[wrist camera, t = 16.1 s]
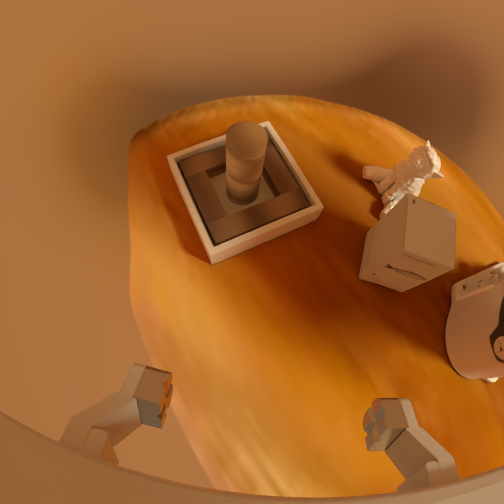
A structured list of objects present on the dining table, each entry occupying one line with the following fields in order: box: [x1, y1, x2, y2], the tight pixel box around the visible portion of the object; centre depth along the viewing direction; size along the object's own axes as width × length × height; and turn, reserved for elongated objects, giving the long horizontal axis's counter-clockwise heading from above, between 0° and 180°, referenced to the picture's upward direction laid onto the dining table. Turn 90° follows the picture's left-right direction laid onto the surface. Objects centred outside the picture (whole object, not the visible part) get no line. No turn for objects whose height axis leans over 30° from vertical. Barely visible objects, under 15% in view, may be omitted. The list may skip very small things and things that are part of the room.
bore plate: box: [179, 139, 309, 246], centre depth 42 cm, size 13×13×2 cm
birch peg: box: [226, 121, 268, 205], centre depth 37 cm, size 4×4×12 cm
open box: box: [167, 121, 324, 265], centre depth 42 cm, size 16×16×4 cm
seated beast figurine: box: [362, 140, 444, 219], centre depth 40 cm, size 10×9×12 cm
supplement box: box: [359, 193, 456, 292], centre depth 36 cm, size 7×7×13 cm
